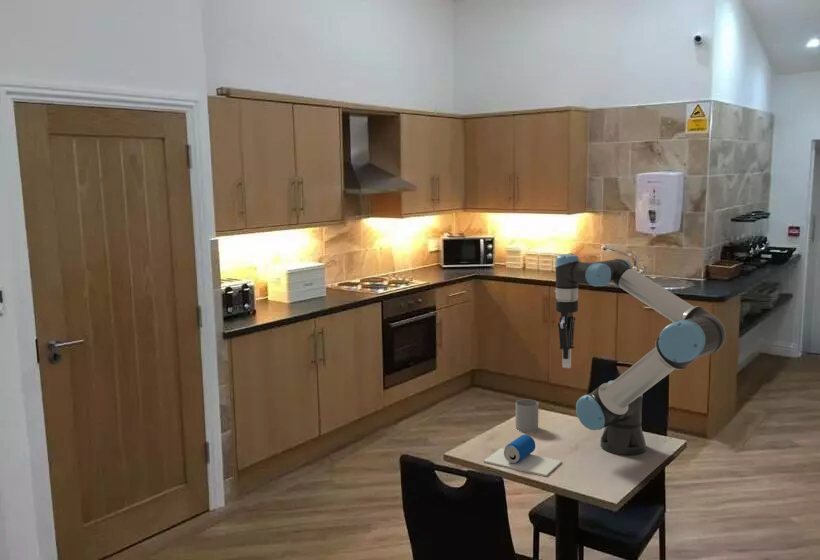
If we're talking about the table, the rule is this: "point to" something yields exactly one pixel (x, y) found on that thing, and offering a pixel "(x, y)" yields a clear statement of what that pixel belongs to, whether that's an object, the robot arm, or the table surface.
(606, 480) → the table surface
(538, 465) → the flat white box
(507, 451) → the beverage can
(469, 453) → the table surface
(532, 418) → the cup
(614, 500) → the table surface
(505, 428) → the table surface
